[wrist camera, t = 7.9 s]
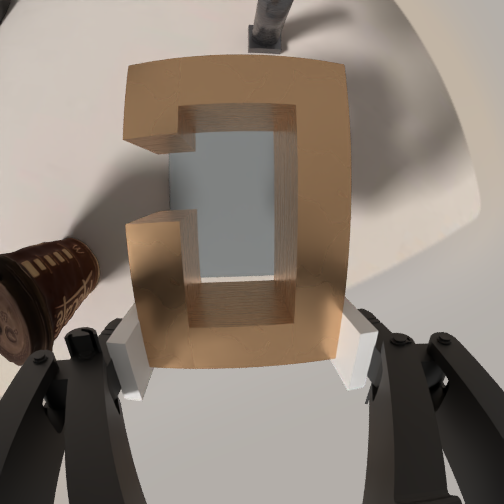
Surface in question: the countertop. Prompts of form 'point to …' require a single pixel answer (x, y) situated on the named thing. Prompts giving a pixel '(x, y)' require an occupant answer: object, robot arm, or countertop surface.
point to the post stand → (268, 26)
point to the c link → (285, 211)
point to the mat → (229, 200)
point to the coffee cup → (42, 294)
